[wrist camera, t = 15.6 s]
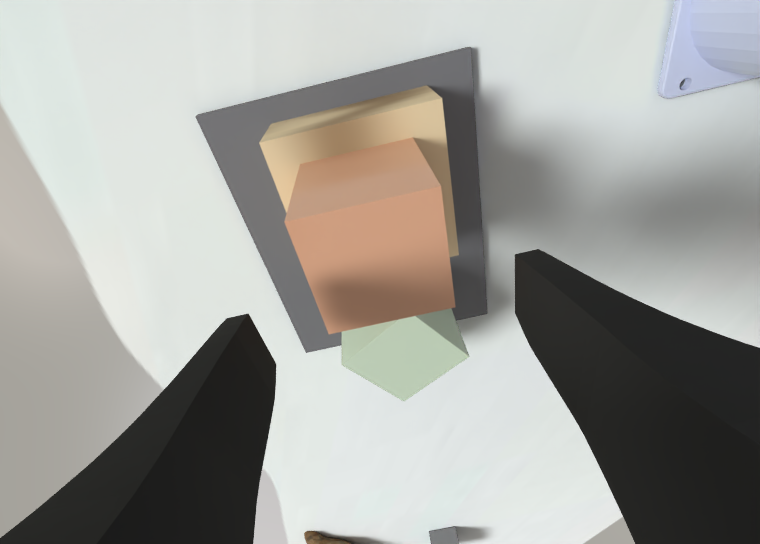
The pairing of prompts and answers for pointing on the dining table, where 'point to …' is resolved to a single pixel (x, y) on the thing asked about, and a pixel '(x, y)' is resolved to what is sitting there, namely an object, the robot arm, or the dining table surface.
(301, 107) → the mat
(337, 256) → the terracotta cube
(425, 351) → the sage cube
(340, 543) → the figurine
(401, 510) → the dining table surface
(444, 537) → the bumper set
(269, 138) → the oak slab
